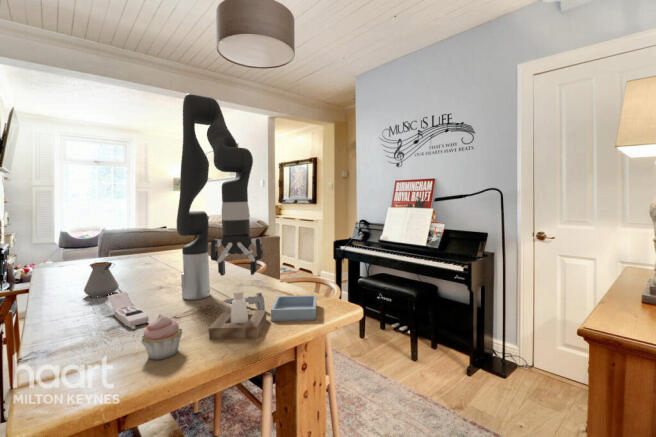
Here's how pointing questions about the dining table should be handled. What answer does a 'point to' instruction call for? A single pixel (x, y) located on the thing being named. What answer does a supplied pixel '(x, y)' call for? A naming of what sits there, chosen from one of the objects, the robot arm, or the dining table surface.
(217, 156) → the robot arm
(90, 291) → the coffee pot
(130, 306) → the mobile phone
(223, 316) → the socket block
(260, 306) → the caliper
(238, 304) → the pepper shaker
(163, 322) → the cupcake
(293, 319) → the tray
